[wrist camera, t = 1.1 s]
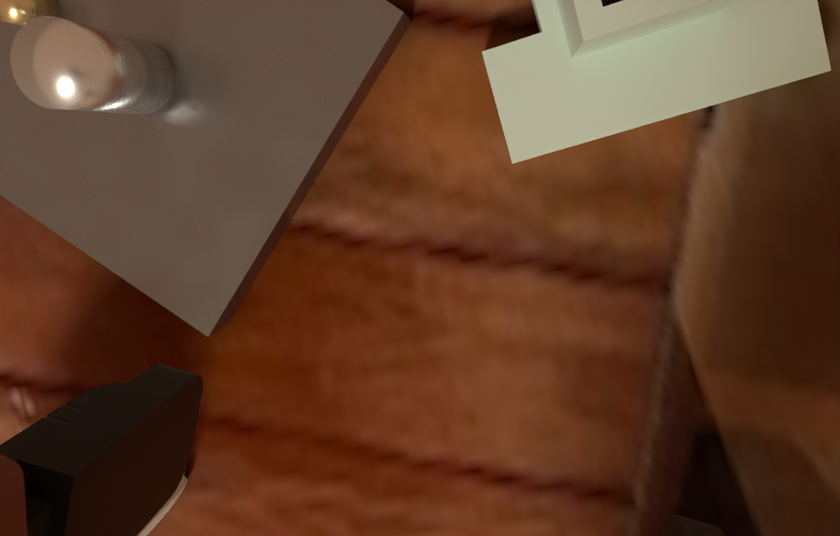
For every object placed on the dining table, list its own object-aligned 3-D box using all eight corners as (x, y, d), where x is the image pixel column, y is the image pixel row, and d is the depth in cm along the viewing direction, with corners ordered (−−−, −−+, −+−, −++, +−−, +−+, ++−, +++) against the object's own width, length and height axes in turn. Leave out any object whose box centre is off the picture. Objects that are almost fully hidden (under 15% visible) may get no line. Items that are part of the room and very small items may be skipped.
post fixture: (411, 21, 28) (374, -20, 21) (227, 324, 32) (140, 380, 25) (94, -194, 28) (-54, -309, 21) (-53, 133, 32) (-221, 132, 25)
